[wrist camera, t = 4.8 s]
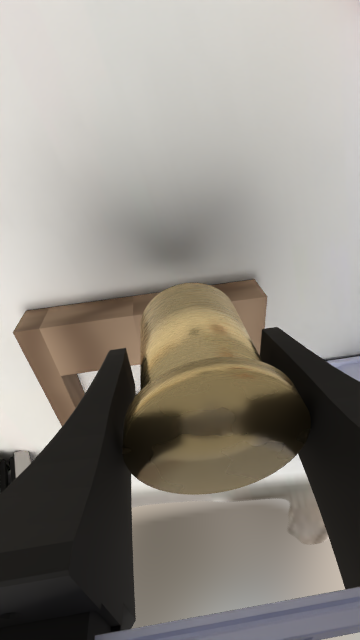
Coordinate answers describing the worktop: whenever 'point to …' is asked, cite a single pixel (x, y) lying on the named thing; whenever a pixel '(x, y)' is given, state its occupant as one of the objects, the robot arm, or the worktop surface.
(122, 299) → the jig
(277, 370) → the bushing
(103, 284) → the worktop surface
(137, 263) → the worktop surface
